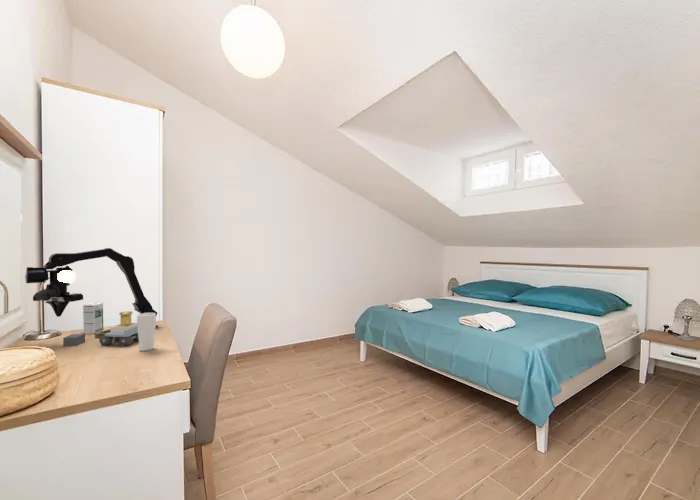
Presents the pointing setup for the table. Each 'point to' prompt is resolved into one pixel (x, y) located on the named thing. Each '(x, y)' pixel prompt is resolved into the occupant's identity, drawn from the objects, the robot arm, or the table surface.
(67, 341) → the block
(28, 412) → the table surface
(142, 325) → the drinking glass
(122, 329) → the tray
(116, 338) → the trolley
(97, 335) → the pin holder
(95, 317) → the syrup box
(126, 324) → the stop pin
